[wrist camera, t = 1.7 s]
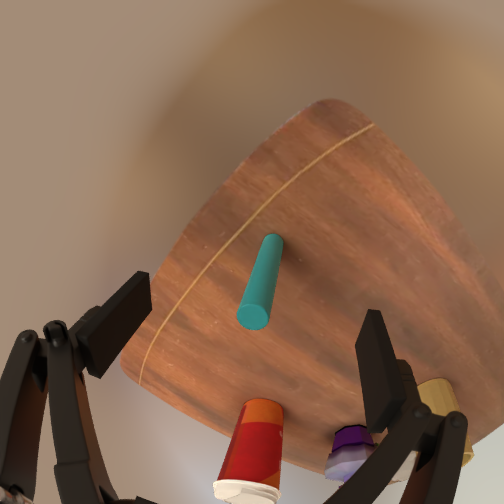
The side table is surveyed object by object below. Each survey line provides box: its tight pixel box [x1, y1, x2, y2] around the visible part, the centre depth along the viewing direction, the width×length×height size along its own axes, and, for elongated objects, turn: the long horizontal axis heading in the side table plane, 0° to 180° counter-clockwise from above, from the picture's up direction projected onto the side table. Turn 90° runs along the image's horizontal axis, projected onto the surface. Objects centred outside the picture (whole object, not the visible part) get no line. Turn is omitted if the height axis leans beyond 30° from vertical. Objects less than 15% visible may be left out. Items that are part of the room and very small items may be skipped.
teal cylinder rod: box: [237, 234, 283, 330], centre depth 21 cm, size 2×2×11 cm
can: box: [415, 378, 474, 467], centre depth 25 cm, size 7×7×12 cm
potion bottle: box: [324, 424, 379, 488], centre depth 30 cm, size 9×9×12 cm
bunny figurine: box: [391, 451, 416, 482], centre depth 35 cm, size 10×5×15 cm
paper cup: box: [213, 399, 284, 504], centre depth 29 cm, size 8×8×14 cm
